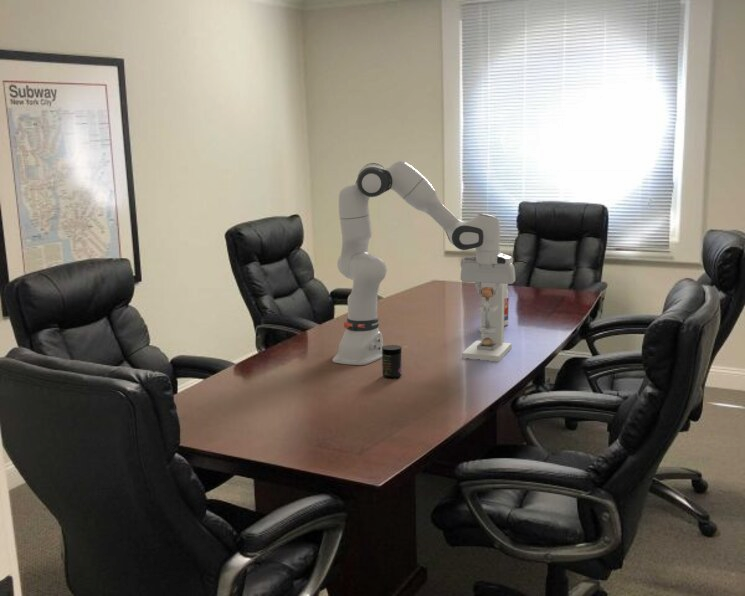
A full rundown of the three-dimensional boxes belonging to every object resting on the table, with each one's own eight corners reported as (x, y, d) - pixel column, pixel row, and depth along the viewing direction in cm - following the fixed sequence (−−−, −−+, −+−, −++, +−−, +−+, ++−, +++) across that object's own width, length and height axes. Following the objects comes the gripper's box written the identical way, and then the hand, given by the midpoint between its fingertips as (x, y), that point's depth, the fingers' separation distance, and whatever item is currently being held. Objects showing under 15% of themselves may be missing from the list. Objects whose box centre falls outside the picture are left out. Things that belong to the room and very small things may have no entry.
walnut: (491, 349, 300) (491, 339, 299) (480, 348, 301) (480, 338, 300) (493, 347, 303) (493, 336, 302) (483, 346, 305) (483, 336, 304)
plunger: (493, 334, 297) (493, 290, 294) (477, 333, 299) (477, 289, 296) (497, 330, 302) (497, 287, 299) (481, 329, 305) (481, 286, 302)
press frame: (499, 361, 291) (499, 280, 285) (461, 358, 296) (461, 278, 290) (511, 348, 309) (512, 271, 303) (476, 345, 314) (476, 269, 308)
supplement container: (399, 380, 271) (398, 350, 269) (380, 378, 273) (379, 349, 271) (404, 374, 277) (403, 345, 275) (385, 373, 279) (384, 344, 277)
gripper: (458, 258, 297) (458, 294, 299) (512, 259, 289) (512, 297, 291) (462, 255, 302) (463, 291, 305) (516, 257, 294) (516, 294, 297)
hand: (487, 294), depth 298 cm, fingers closed on plunger, 4 cm apart
